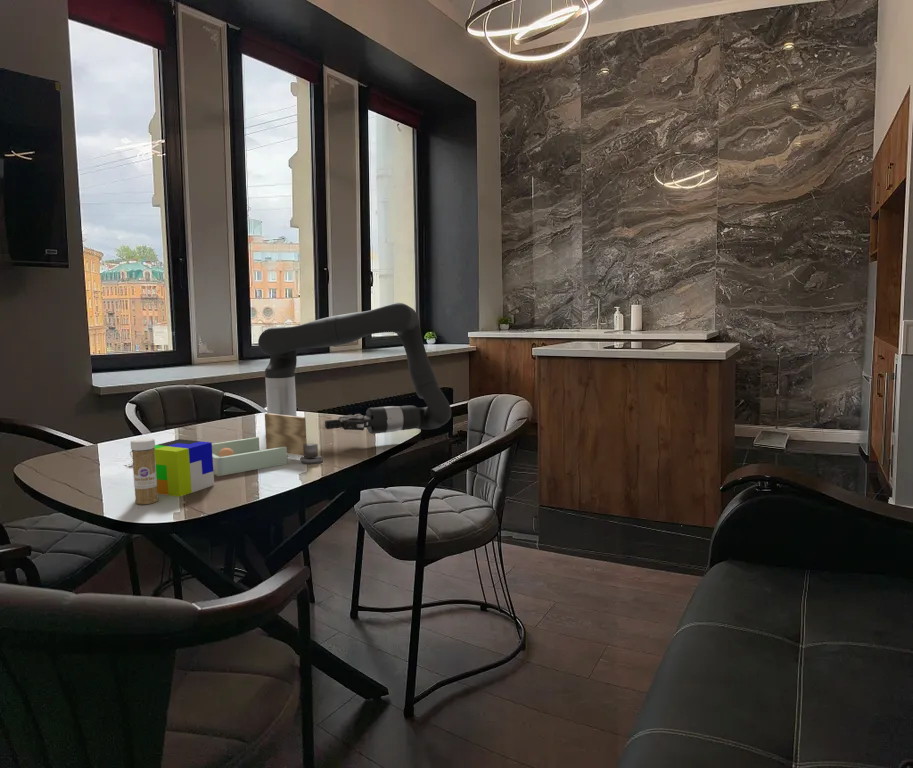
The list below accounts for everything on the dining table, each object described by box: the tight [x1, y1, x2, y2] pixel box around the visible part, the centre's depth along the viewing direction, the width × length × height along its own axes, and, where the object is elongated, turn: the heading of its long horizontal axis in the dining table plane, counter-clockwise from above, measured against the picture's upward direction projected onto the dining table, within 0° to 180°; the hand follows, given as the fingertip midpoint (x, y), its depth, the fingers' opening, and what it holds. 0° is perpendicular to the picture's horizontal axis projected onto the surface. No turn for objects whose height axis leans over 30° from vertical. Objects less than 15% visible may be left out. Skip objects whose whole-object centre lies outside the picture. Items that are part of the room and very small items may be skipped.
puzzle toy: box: [154, 438, 215, 498], centre depth 151 cm, size 10×10×10 cm
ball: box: [218, 448, 234, 457], centre depth 174 cm, size 4×4×4 cm
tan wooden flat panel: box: [264, 412, 319, 458], centre depth 178 cm, size 18×4×10 cm, turn 57°
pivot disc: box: [299, 455, 323, 465], centre depth 174 cm, size 6×6×1 cm
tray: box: [212, 436, 288, 477], centre depth 173 cm, size 18×18×4 cm
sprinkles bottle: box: [130, 437, 159, 506], centre depth 140 cm, size 5×5×14 cm
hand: (325, 424), depth 187 cm, fingers closed
